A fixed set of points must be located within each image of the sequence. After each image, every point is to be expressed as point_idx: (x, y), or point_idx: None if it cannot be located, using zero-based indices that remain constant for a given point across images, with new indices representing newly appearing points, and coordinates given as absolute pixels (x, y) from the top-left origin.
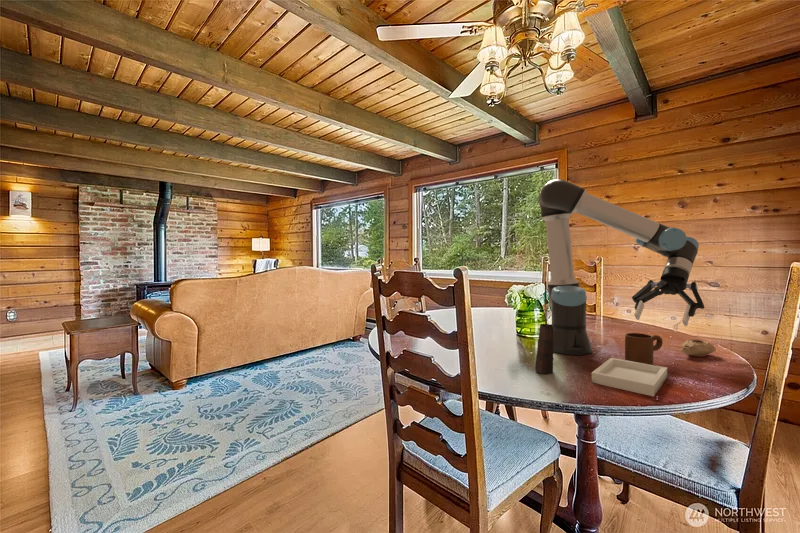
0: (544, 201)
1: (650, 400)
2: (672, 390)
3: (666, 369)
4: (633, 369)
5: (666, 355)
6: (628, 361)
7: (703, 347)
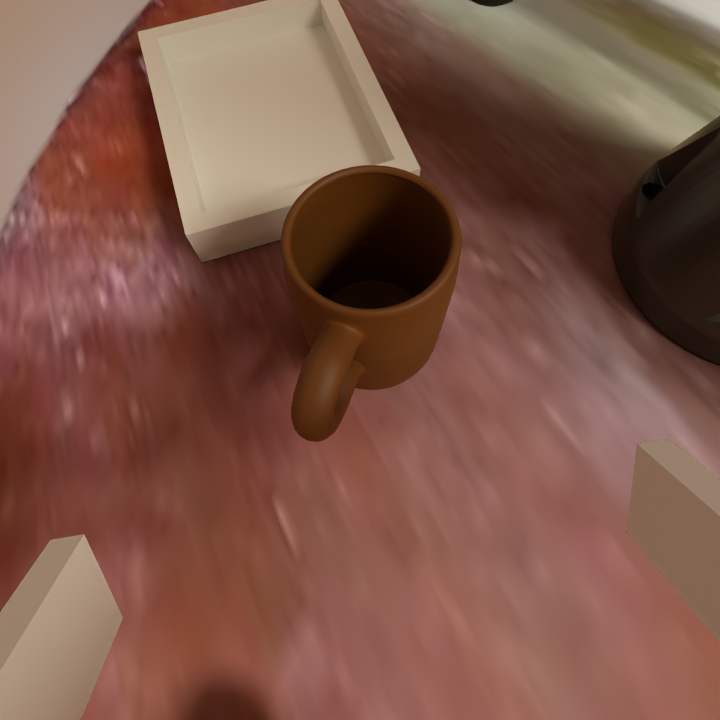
0: None
1: None
2: (135, 152)
3: (183, 222)
4: None
5: (394, 683)
6: None
7: None
